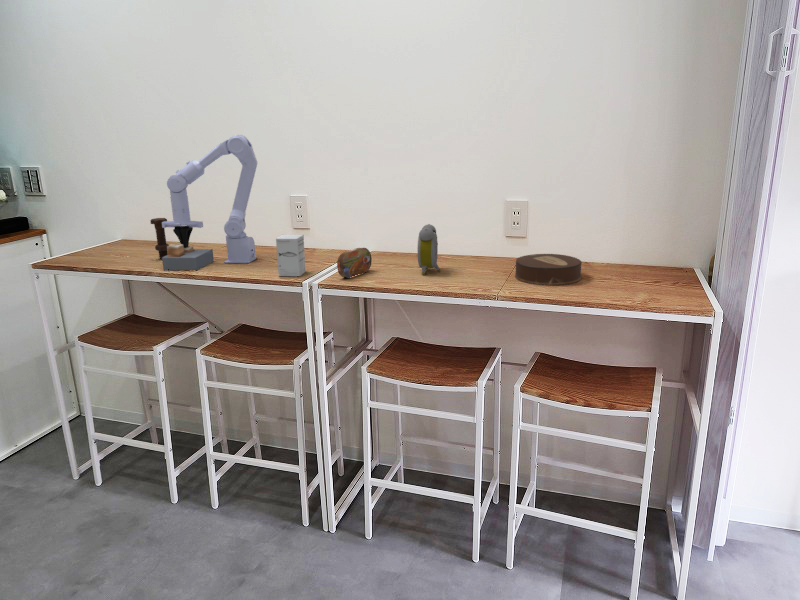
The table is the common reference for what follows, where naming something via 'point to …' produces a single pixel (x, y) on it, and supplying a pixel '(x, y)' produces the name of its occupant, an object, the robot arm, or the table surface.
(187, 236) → the robot arm
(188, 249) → the tan wooden cube
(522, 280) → the container
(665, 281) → the table surface
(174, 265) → the socket block
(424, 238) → the grey upright figure
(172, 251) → the tan cube
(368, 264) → the tin
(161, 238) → the bolt
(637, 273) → the table surface
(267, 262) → the table surface
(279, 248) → the supplement box
